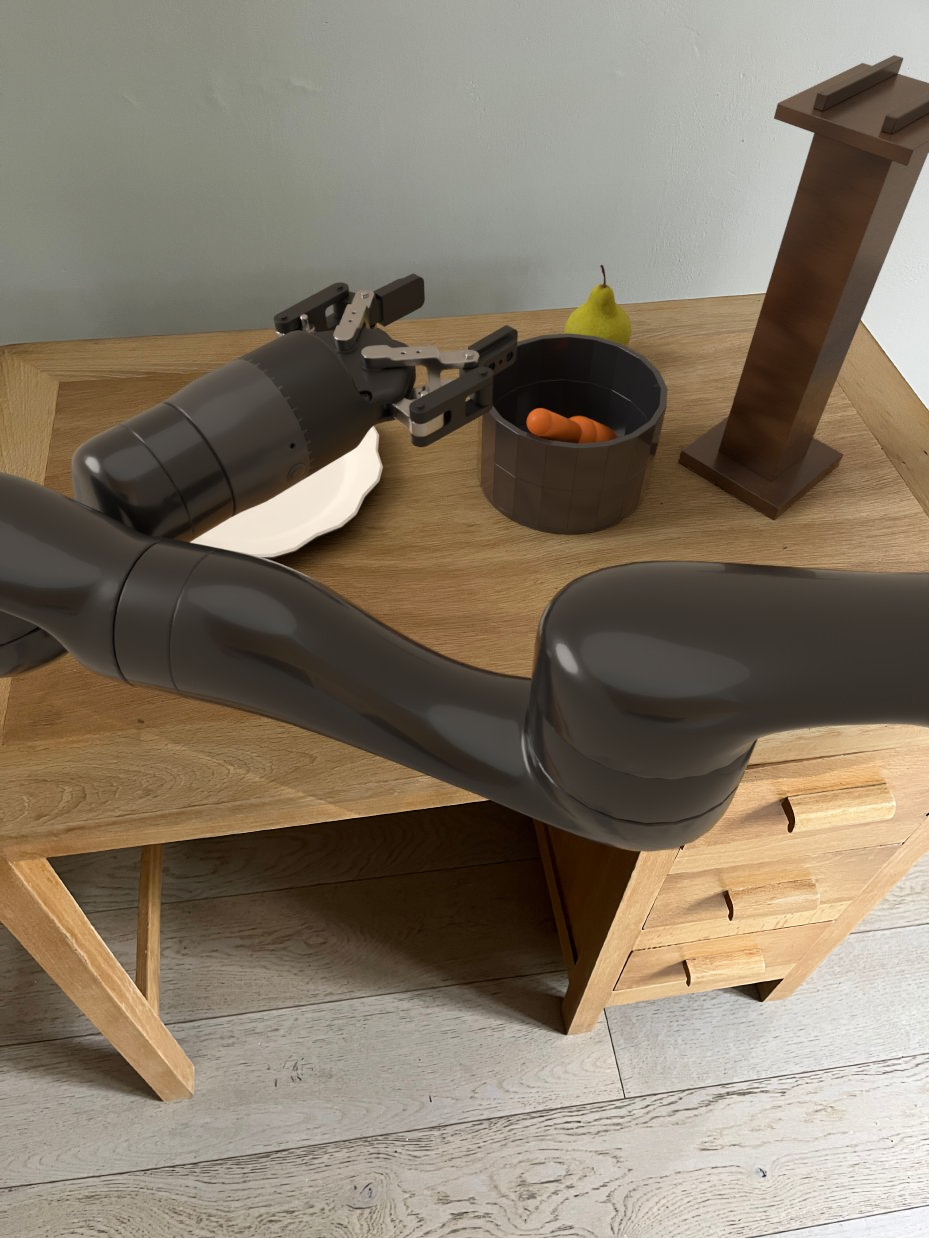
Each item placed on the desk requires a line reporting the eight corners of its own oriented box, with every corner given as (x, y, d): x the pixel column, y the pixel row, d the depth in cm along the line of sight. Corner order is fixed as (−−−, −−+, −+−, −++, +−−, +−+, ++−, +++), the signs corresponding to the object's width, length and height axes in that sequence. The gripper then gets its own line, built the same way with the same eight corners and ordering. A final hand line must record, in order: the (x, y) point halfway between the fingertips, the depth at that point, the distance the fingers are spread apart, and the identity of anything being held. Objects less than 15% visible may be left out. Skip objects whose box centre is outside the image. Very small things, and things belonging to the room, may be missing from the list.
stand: (838, 465, 83) (1008, 88, 57) (774, 520, 78) (927, 135, 53) (744, 413, 88) (861, 45, 62) (677, 462, 83) (775, 84, 58)
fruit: (584, 337, 97) (597, 233, 87) (637, 358, 94) (656, 253, 85) (550, 365, 93) (560, 260, 84) (604, 389, 91) (621, 283, 81)
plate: (424, 430, 86) (423, 415, 85) (303, 608, 71) (300, 593, 70) (210, 373, 92) (206, 358, 90) (58, 527, 77) (50, 512, 76)
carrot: (639, 472, 81) (640, 434, 81) (551, 439, 68) (553, 394, 68) (604, 474, 83) (606, 437, 83) (513, 443, 70) (515, 399, 70)
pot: (682, 476, 82) (705, 389, 74) (568, 562, 75) (580, 475, 67) (557, 400, 89) (567, 313, 82) (443, 471, 82) (441, 383, 75)
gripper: (336, 428, 42) (552, 303, 50) (176, 315, 49) (388, 218, 56) (351, 535, 48) (543, 409, 56) (206, 421, 55) (395, 321, 62)
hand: (465, 313), depth 56 cm, fingers open, 8 cm apart
